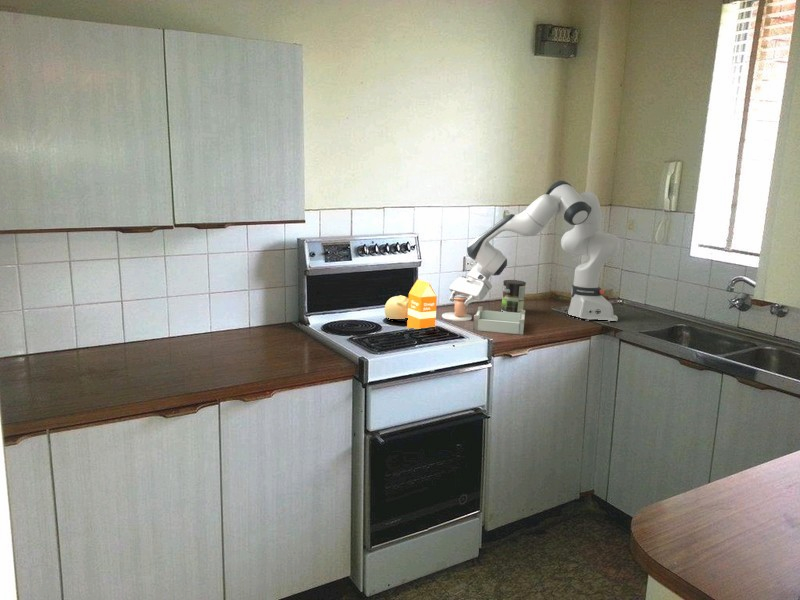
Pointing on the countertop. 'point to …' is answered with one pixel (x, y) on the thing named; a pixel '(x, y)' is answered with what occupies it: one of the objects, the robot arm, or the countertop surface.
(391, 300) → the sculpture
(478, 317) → the green tray
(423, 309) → the orange juice
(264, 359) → the countertop surface
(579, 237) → the robot arm
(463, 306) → the terracotta pot
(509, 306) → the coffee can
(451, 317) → the saucer
